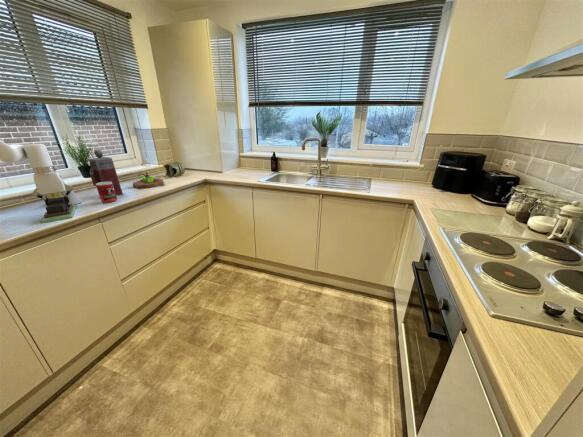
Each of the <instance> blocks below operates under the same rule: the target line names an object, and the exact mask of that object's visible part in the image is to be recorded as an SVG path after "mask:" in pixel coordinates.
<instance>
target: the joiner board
mask: <svg viewBox="0 0 583 437" xmlns="http://www.w3.org/2000/svg"><path fill="white" fill-rule="evenodd" d="M77 207H78V205H77V204H68V206H67V207H66V209H67V211H66V212H60V213H54V214H48V213H47V211H46V212H45V213H44V215H43V217H42V218H41V219H40V223H41V224H45V223H51V222H57V221H62V220H69V219H73V217H74V215H75V212H76V211H77Z"/></svg>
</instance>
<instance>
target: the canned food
mask: <svg viewBox="0 0 583 437" xmlns="http://www.w3.org/2000/svg"><path fill="white" fill-rule="evenodd" d="M95 188H96V190H97V192H98V195H99V199H100V201H101V202H102V204H110V203H115V202H117V201H118V197H117V196H116V193H115V190H114V187H113V184H112V182H110V181H107V182H100V183H97V184H96V186H95Z"/></svg>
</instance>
